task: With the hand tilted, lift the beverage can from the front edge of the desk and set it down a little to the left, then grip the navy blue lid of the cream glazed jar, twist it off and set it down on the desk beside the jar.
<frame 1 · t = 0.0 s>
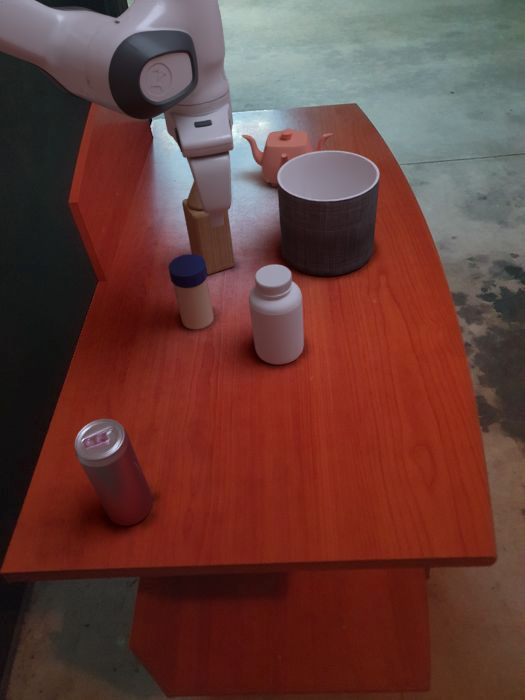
hand: (212, 207, 84), 21 cm above the table, tool pointing down, fingers open, 8 cm apart
decorative item: (214, 264, 110), on the table
beverage can: (131, 507, 74), on the table
teapot: (288, 181, 130), on the table
jar lid: (187, 267, 91), point 11 cm above the table, screwed on, not yet turned
pill bottle: (279, 349, 92), on the table
planter: (327, 249, 111), on the table
jar: (197, 318, 99), on the table
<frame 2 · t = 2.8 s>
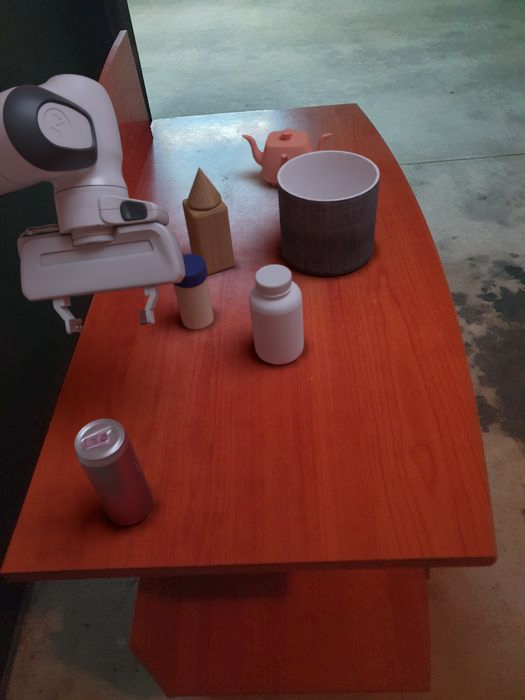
hand: (111, 328, 72), 18 cm above the table, tool tilted 40°, fingers open, 8 cm apart
nothing on the table moved.
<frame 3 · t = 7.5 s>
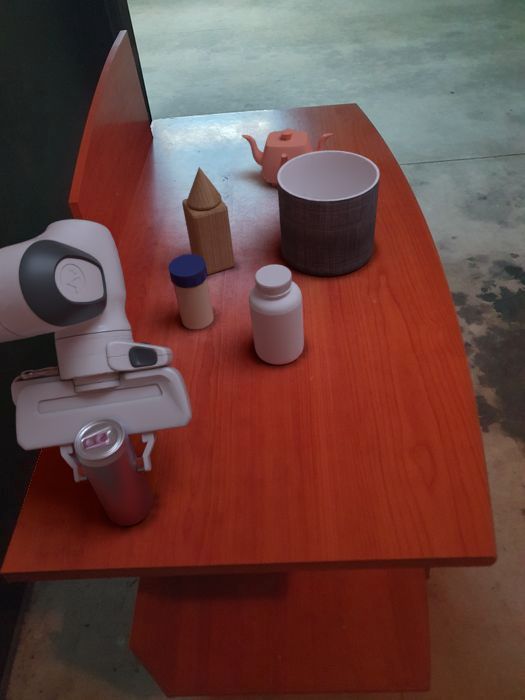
hand: (114, 475, 68), 8 cm above the table, tool tilted 45°, fingers closed on beverage can, 6 cm apart
beverage can: (131, 507, 74), on the table, touching gripper
everything else where it was.
when the fingers open (8 cm above the table, at t = 15.2 s): beverage can stays where it is, on the table.
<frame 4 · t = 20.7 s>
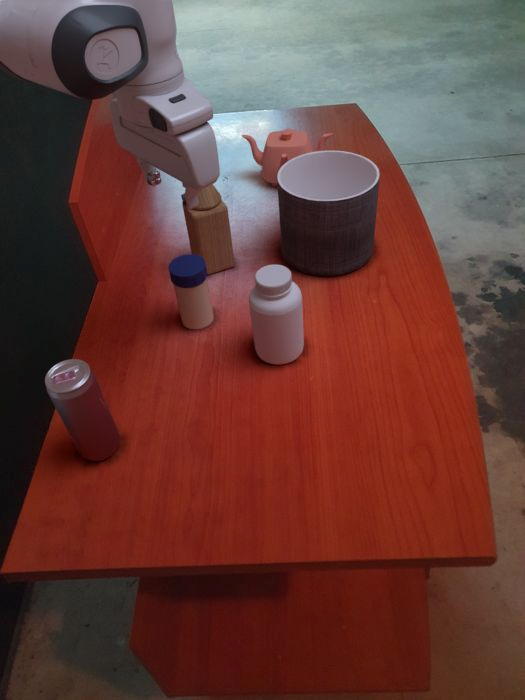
hand: (172, 194, 82), 24 cm above the table, tool pointing down, fingers open, 8 cm apart
beverage can: (100, 446, 81), on the table
everything else where it was.
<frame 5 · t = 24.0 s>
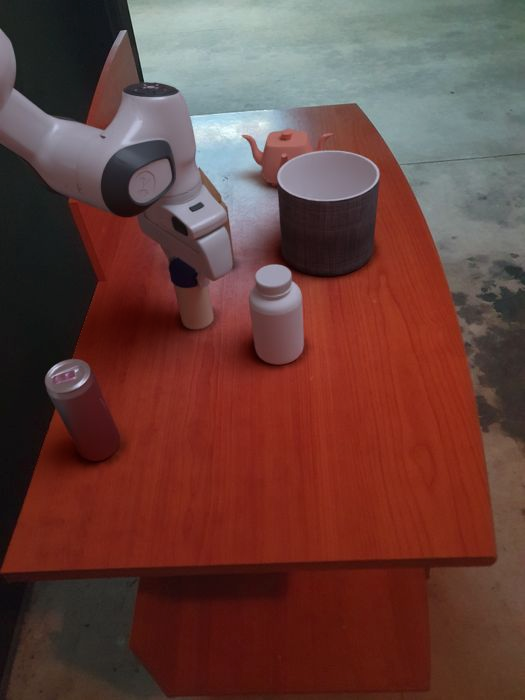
hand: (189, 275, 92), 9 cm above the table, tool pointing down, fingers closed on jar lid, 6 cm apart
jar lid: (187, 267, 91), point 11 cm above the table, screwed on, not yet turned, touching gripper
everything else where it was.
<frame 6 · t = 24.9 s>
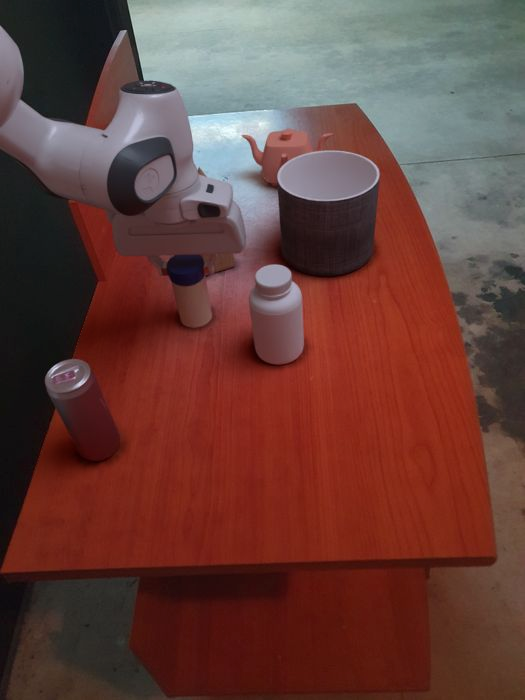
hand: (187, 273, 93), 10 cm above the table, tool pointing down, fingers closed on jar lid, 6 cm apart
jar lid: (185, 264, 91), point 11 cm above the table, turned 42° so far, risen 0.1 cm, still on its thread, touching gripper
everything else where it was.
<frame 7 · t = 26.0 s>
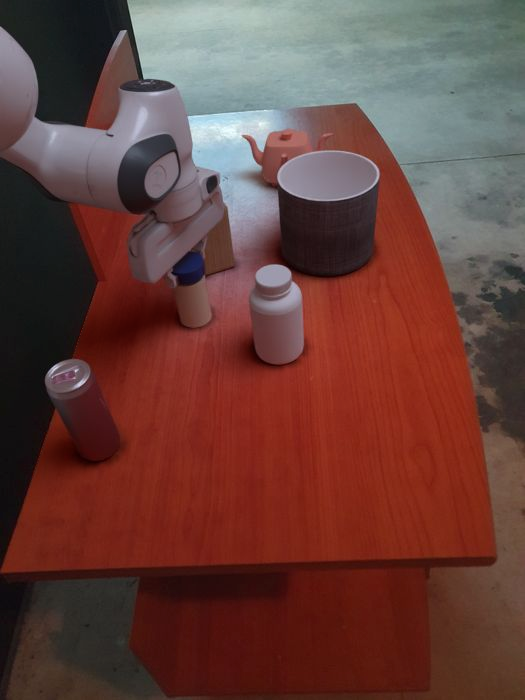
hand: (186, 272, 92), 10 cm above the table, tool pointing down, fingers closed on jar lid, 6 cm apart
jar lid: (184, 263, 91), point 11 cm above the table, turned 103° so far, risen 0.3 cm, still on its thread, touching gripper
jar: (196, 316, 99), on the table
everything else where it was.
when the fingers open (0 cm above the table, at t = 35.5 s): jar lid stays where it is, point 2 cm above the table.
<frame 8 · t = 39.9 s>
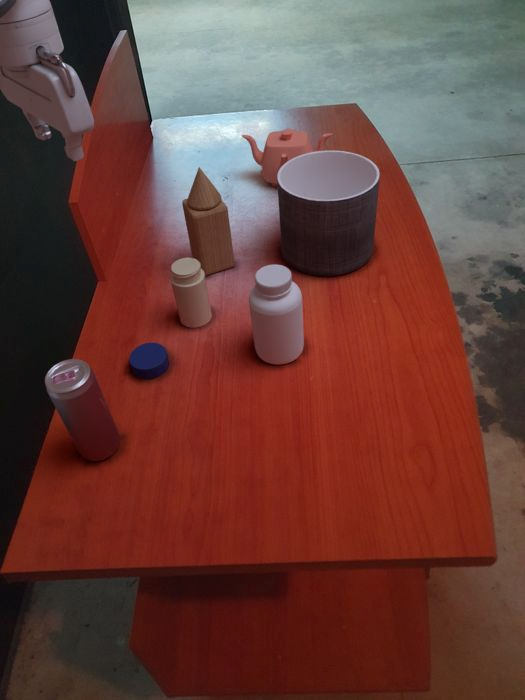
hand: (60, 148, 79), 31 cm above the table, tool pointing down, fingers open, 8 cm apart
jar lid: (148, 357, 90), point 2 cm above the table, off its thread
jar: (195, 316, 99), on the table
everything else where it was.
at the end: jar lid came off its thread; jar lid point 1.9 cm above the table; beverage can inside the target area (0.1 cm from its centre), on the table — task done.
